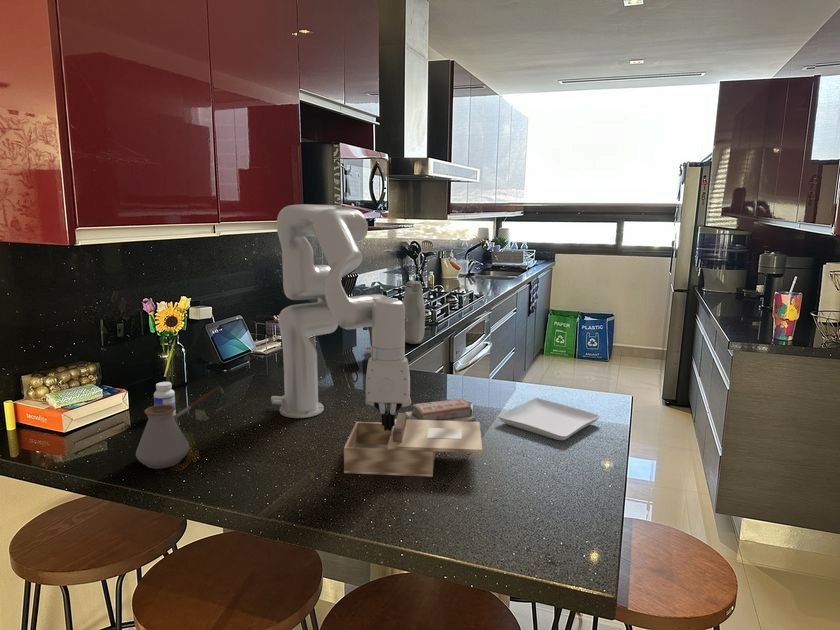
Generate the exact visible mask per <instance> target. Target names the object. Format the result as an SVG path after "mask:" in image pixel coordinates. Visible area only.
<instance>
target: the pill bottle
mask: <svg viewBox="0 0 840 630" xmlns="http://www.w3.org/2000/svg"><path fill="white" fill-rule="evenodd" d="M172 387H173V386H172V382H170V381H162V382H161V381H160V382H158V383H156V384H155V389H156V390H155V391H154V393H153V402H154V403H153V406H156V405H172V406H174V407H175V408H176V397H175V396H176V395H175V393H176V392H175V390H174V389H172ZM176 412H177V411H176V409H175V410H174V411H173V416H174V415H176V414H177V413H176Z"/></svg>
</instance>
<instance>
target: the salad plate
mask: <svg viewBox="0 0 840 630" xmlns="http://www.w3.org/2000/svg"><path fill="white" fill-rule="evenodd" d="M497 418H498V419H499V420H500V421H501V422H502V423H504V424H506V425H509V426H512V427H514V428H518V429H521V430H523V429H524V431H526V430H527V432H529V431H530V432H529V433H532V432H533V434H536V435H540V436H542V435H543V436H542V437H545V438H546V437H547V438H550V439H552V438H553V439H554V440H556V441H565V440H567V439H569V438H570V437H571V436H573V435H574V434H576V433H578V432H579V431H581V430H583V429H585V428H587V427H588V426H590V425H591V424H594V423H595V422H598V420H599V419H600V418H601V415H600V414H597V413H594V412H591V411H587V410H584V409H580V408H576V407H573V406H570V405H565V404H562V403H558V402H556V401H550V400H547V399H543V398H539V397H535V398H534V397H533V398H532V399H531V400H530V399H529V400H528V401H525V402H523V403H521V404H519V405H516V406H515V407H513V408H511V409H508V410H507V411H505V412H502V413H499V414H497ZM553 439H552V440H553Z"/></svg>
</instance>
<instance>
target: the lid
mask: <svg viewBox="0 0 840 630" xmlns="http://www.w3.org/2000/svg"><path fill="white" fill-rule="evenodd" d="M482 443H483V441H482V434H481V424H480V421H440V420H411V419H408V418H407V413H405V412H398V413H397V417H396V418H395V426H393V429H392V432H391V435H390V439H389V442H388V446H387V449H389V450H415V451H435V452H441V453H442V452H445V453H446V452H448V453H465V454H466V453H469V454H470V453H471V454H483V445H482Z"/></svg>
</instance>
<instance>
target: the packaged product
mask: <svg viewBox="0 0 840 630" xmlns="http://www.w3.org/2000/svg"><path fill="white" fill-rule="evenodd" d="M404 413H407V418H406V419H411V420H440V421H468V422H473V421H476V419H477V418H476V417H475V416H474V415H473V409H472V405H471V404H470V403H469V402H468V401H466V400H465V399H464V398H457V399H447V400H446V399H445V400H440V401H439V400H438V401H430V402H421V403H414V404H413V405H411V410H410V411H405V412H404Z"/></svg>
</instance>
